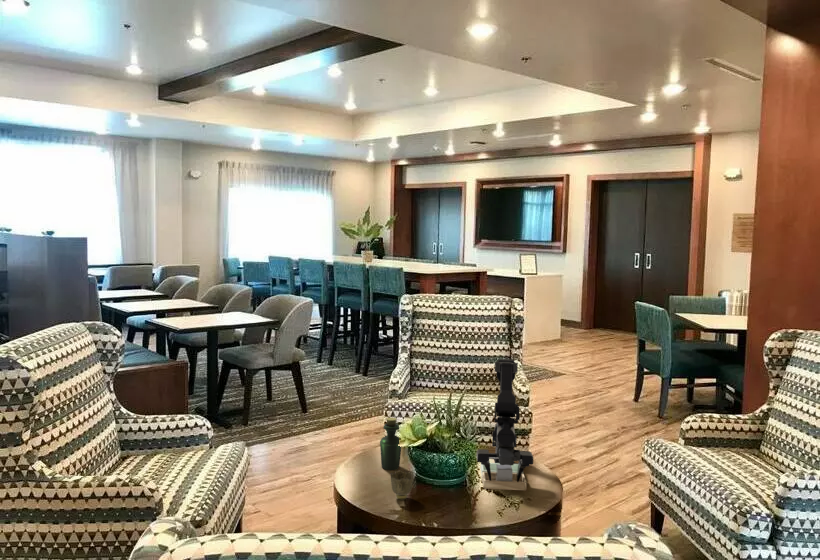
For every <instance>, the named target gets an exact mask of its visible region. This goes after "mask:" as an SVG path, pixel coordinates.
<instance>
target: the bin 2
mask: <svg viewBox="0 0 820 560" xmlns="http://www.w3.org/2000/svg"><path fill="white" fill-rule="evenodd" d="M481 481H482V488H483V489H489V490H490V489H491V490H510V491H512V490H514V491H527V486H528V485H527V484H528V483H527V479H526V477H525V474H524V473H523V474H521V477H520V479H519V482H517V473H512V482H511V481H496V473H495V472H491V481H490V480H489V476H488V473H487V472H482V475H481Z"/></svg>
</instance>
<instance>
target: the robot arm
mask: <svg viewBox="0 0 820 560" xmlns="http://www.w3.org/2000/svg"><path fill="white" fill-rule="evenodd" d="M518 363H519V362H515V359H509V358H508V359H504V358H498V360H497V361H495V362H494V373H496V378H497V380H498V382H499V393H498V395H497V397H496V398H497V399H496V402H494V423H495V424H494V430H492V442H491V443H492V447H495V452H489V449H477V450H476V462H477V463H480V465H481V464H482V465H484V466H485V467H486V470H487V473H488V476H489V480H490V481H491V471H490V463H491V462H490V460H493V463H499V464H500V465H514V464H515V462H518V463H517V464H518V470H517V482H519V479H520V477H521V474H522V472H523V473H524V470H525V469H526V468H527V467H530V465H534V456H533V453H532V452H531V451H527V450H526V451H525V450H520V449H515V448H516V447H517V437H518V436H517V435H516V432H515V425H516V424H518V423H519V421H520V406H519V404H518V403H517V402H516V401H517V400H516V396H515V395H514V393H513V381H514V380H515V378H516V374H517V373H518V367H519V365H518Z"/></svg>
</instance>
